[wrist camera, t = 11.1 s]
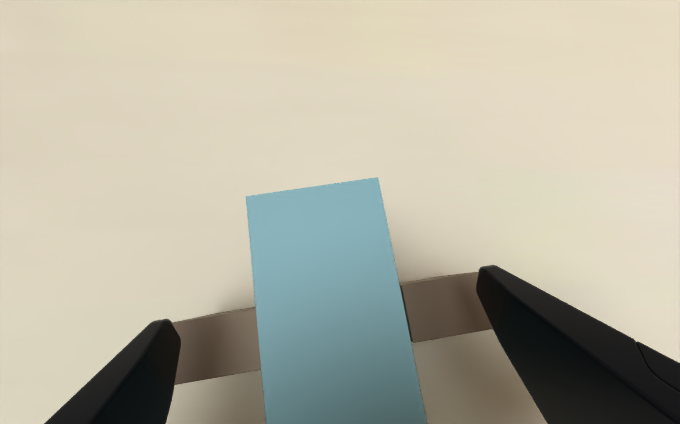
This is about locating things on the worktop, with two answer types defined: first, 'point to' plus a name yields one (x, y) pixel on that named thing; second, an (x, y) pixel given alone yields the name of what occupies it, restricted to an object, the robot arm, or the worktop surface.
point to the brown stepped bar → (243, 343)
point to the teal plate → (330, 308)
